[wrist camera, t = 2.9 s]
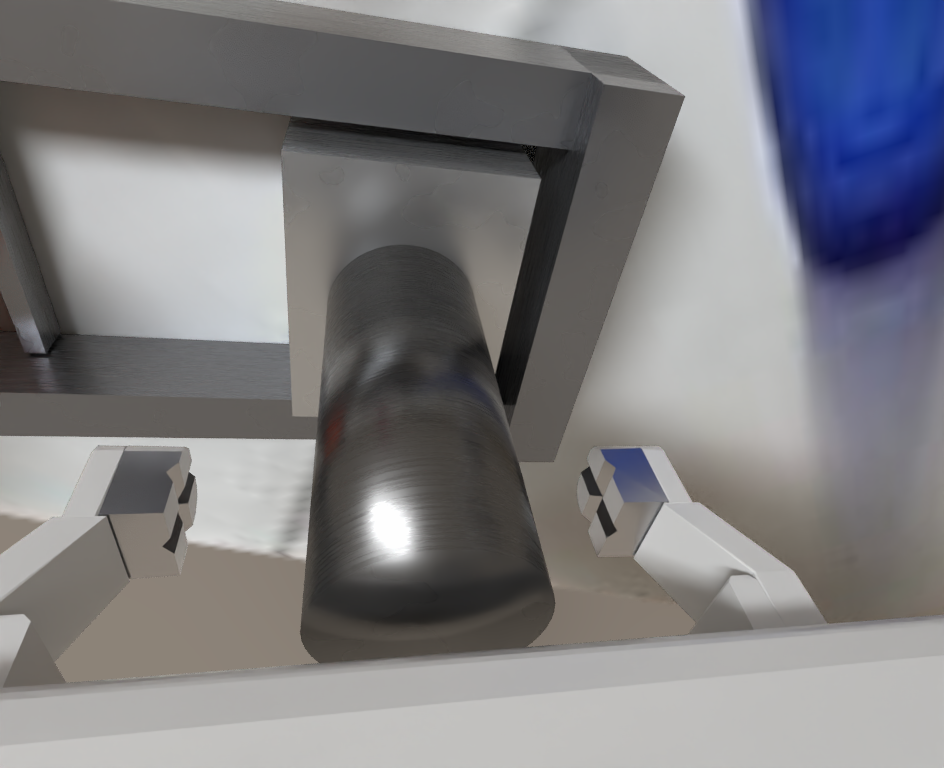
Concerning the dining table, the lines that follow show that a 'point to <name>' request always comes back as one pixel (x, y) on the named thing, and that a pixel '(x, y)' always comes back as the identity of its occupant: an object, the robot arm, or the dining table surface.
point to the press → (351, 101)
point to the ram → (409, 390)
